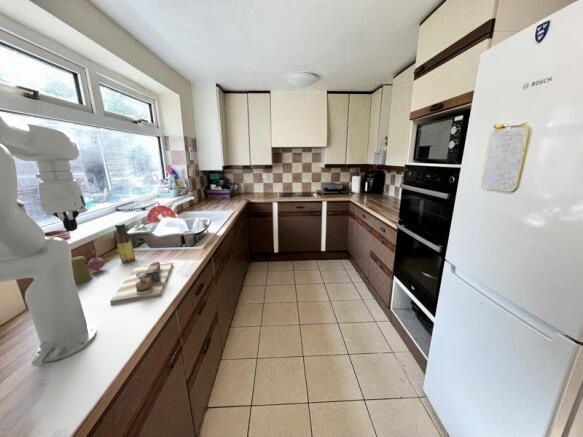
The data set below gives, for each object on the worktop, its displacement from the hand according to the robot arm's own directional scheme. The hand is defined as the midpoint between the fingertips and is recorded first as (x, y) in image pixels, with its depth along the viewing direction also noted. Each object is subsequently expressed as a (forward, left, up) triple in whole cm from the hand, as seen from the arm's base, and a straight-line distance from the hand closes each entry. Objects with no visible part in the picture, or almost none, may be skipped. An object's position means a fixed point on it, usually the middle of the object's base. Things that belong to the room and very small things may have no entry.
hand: (71, 230), depth 81 cm
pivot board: (+7, -17, -27) cm, 33 cm away
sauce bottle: (+35, -2, -27) cm, 44 cm away
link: (+5, -19, -25) cm, 32 cm away
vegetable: (+27, +8, -27) cm, 39 cm away
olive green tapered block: (+18, +10, -27) cm, 34 cm away
